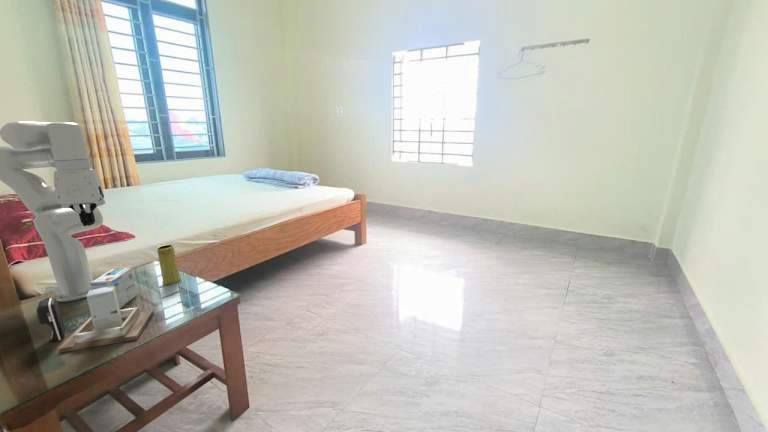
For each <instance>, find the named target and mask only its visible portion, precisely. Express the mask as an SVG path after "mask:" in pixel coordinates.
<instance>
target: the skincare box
mask: <svg viewBox="0 0 768 432" xmlns="http://www.w3.org/2000/svg"><path fill="white" fill-rule="evenodd" d="M86 300H87V301H86V302H87V304H88V309H89V311H90V312H89V313H90V317H91V318H92V322H93V326H94V330H95V331H97V330H103V329H109V328H115V327H121V325H122V317H121V313H120V310H121V308H119V303H118V299H117V294H116V290H115V286H110V287H104V288H99V289H94V290H89V292H88V294H87V297H86Z"/></svg>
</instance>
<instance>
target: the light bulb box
mask: <svg viewBox="0 0 768 432" xmlns="http://www.w3.org/2000/svg"><path fill="white" fill-rule="evenodd" d="M90 285H91V289H92V290H94V289H99V288H104V287H110V286H115V290H116V294H117V299H118V303H119V308H120V309H121V308H123V307H124V306H125V305H127V303H129V302H130V301H131V300H133V299H134V298H135V297H137V296H138V293H137V289H136V284H135V281H134V275H133V272H132V268H131V267H125V268H112V269H109V270H108V271H106V272H104V273H103V274H102V275H100V276H98V277H97V278H95V279H93V281H92V282H90Z"/></svg>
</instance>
